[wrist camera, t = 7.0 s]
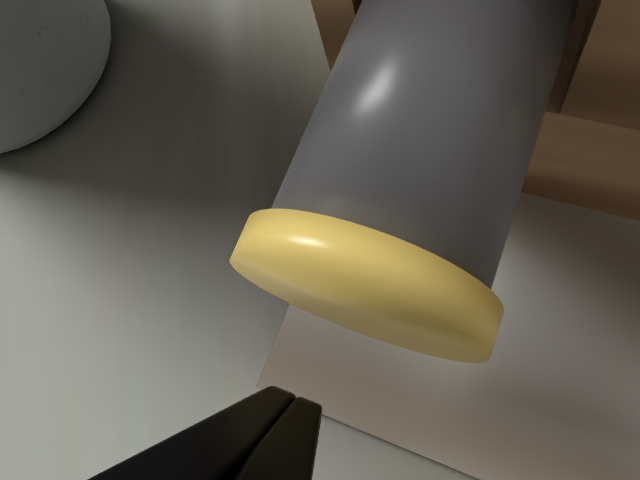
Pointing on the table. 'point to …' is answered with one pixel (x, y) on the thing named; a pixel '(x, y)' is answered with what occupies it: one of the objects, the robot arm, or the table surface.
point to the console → (520, 296)
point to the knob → (413, 172)
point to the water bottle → (48, 64)
